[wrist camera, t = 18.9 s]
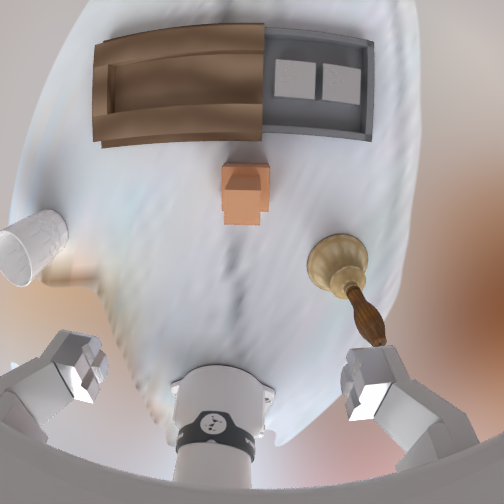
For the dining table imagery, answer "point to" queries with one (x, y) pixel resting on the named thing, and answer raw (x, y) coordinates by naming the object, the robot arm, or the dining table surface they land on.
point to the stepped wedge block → (245, 192)
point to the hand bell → (347, 281)
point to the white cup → (31, 246)
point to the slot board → (179, 85)
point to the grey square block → (338, 85)
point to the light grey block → (294, 80)
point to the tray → (312, 112)
